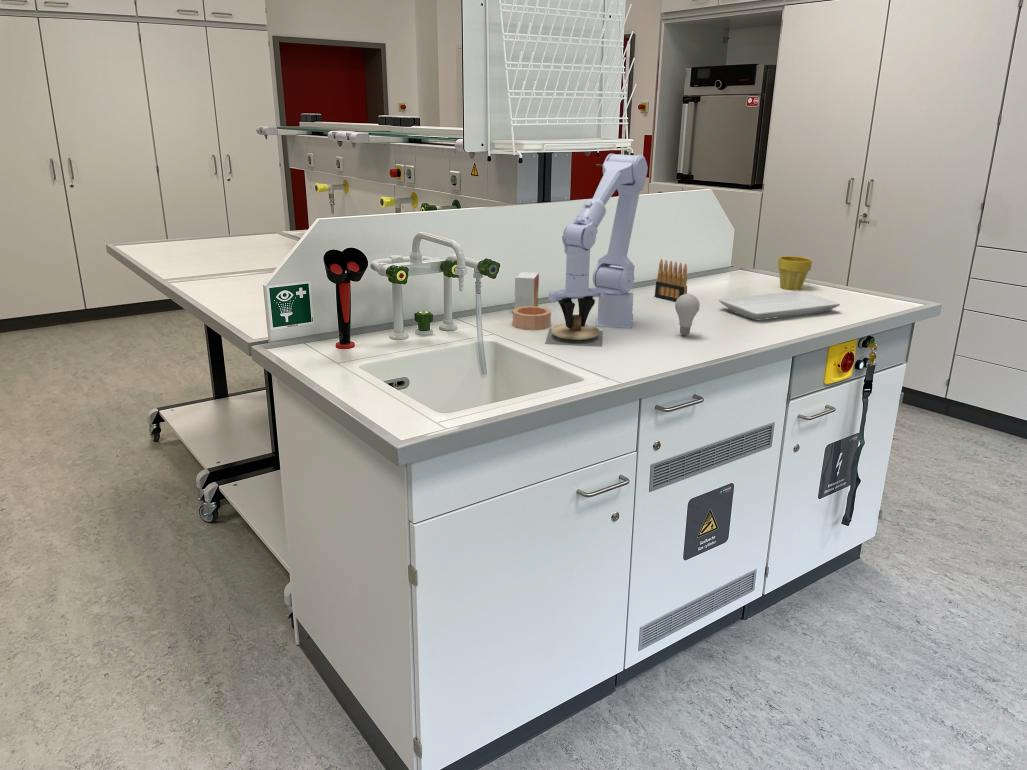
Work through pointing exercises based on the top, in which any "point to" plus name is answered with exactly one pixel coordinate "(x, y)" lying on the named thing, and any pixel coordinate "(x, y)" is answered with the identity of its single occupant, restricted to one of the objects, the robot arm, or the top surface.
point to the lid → (575, 330)
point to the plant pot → (793, 271)
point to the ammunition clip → (671, 281)
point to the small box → (526, 289)
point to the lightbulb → (686, 311)
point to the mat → (585, 342)
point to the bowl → (531, 317)
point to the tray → (778, 304)
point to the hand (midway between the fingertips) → (575, 326)
